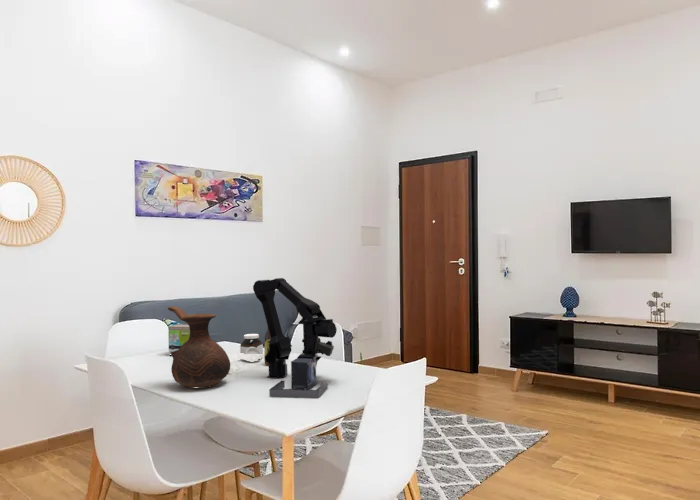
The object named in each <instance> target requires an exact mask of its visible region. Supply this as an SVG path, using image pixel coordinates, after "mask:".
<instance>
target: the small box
mask: <svg viewBox="0 0 700 500" xmlns="http://www.w3.org/2000/svg"><path fill="white" fill-rule="evenodd" d="M290 367H291V368H290V372H291V373H290V375H291V387H290V389H304V390H311V389H312V388H313V387H314V386H316V385H317V365H316V361H315V362H313V360H312V359H306V358H297V357H296V358H295V359H293V360H291V361H290Z"/></svg>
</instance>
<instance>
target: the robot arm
mask: <svg viewBox="0 0 700 500" xmlns="http://www.w3.org/2000/svg"><path fill="white" fill-rule="evenodd" d="M252 290H253V293H254V295H255V297H256V299H257V300H258V301H259V302H260V303H261V306H262V309H263V313H264V316H265V317H264V318H265V322H266V325H267V328H268V329H269V333H270V337H271V338H270V342H269V349H270V351H269V352H268V353H267V354H266V356H265V361H266V362H269V365H268V375H267V378H270V379H271V378H273V379H275V378H276V379H283V378H285V377H286V376H287V375H288V364H287V363H286V362H287V360H289V359H290V354H291V352H292V347H293V345H292V343H291V338H290V336H285V334H284V333H283V330H282V327H281V322H280V319H279V315H278V312H277V311H278V310H277V309H276V308H277V307H276V304H275V295H276V291H278V292H279V293H280V294H282V295H283V296H284V297H285V298H286V299H287V300H288V301H290V303H291V304H292V305H293V306H294V307H295V309H296V312H297V313H298V314H299V315H300V317H301V319H300V320H299V321H298V324H299V325H302V326H303V330H302V331H303V339H301V342H302V343H303V349H302V352H301V353H300V354H299V355H298V356H297V357H296V359H297V358H306V359H312V360H313V362H315V361H316V366H317V364H318V361H320V359H321V358H322V356H320V355H319V354H321V355H324V356H327V357H330V356H331V355H332V353H333V351H334V348H335V347H334V345H333V342H332V340H331V341H330V340H328V341H326V342H325V341H324V342H323V341H321V338H331V339H332V338H334V337H335V336H336V334H337V329H338V328H337V326H336V324H335V322H334V319H332V318H329V319H327V318H326V316H325V314H324V313H323V311H322V310H321V307H320V305H319V303H318V302H315V301H314V300H312V299H309V298H306V297H305V296H304V295H302V294H301V293H300V292H299V291H298V290H297V289H295V288H294V287H293V286H292V285H291V284H290V283H289V282H287V280H286V279H285V278H283V277H278V278H273V279H259V280H256V281H255V282H254V283H253V286H252ZM265 361H264V362H265Z"/></svg>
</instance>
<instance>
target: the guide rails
mask: <svg viewBox="0 0 700 500" xmlns="http://www.w3.org/2000/svg"><path fill="white" fill-rule="evenodd" d="M285 381H286V380H283V379H282V380H280V381H279V382H277V383H276V384H274V385H273V386H272V387H271V388H269V392H268V395H269V398H293V399H294V398H295V399H296V398H299V399H302V398H304V399H320V398H321V396H322V395H323V394H325V392H326V391H327V390H328V389H329V388H328V382H329V381H327V380H326V381H323V382H322V383H321V384H319V386H318V387H317V388H316V389H309V390H304V389H291V388H285V387H286V386H285V384H286V383H285Z"/></svg>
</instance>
